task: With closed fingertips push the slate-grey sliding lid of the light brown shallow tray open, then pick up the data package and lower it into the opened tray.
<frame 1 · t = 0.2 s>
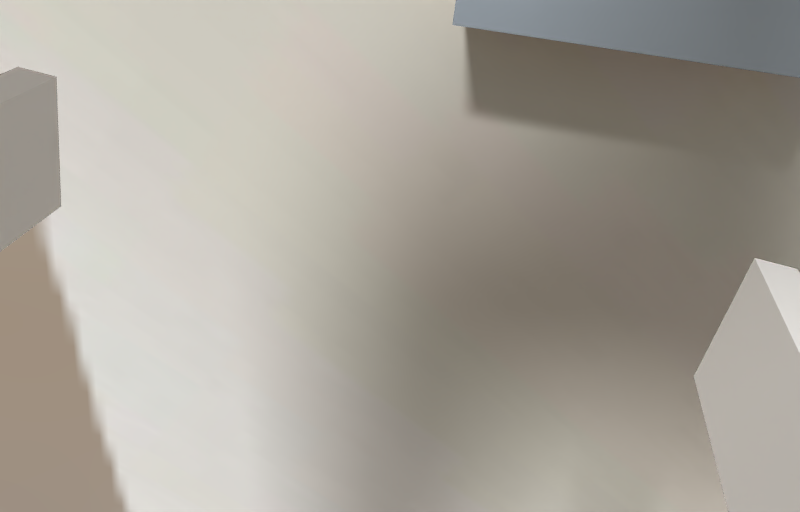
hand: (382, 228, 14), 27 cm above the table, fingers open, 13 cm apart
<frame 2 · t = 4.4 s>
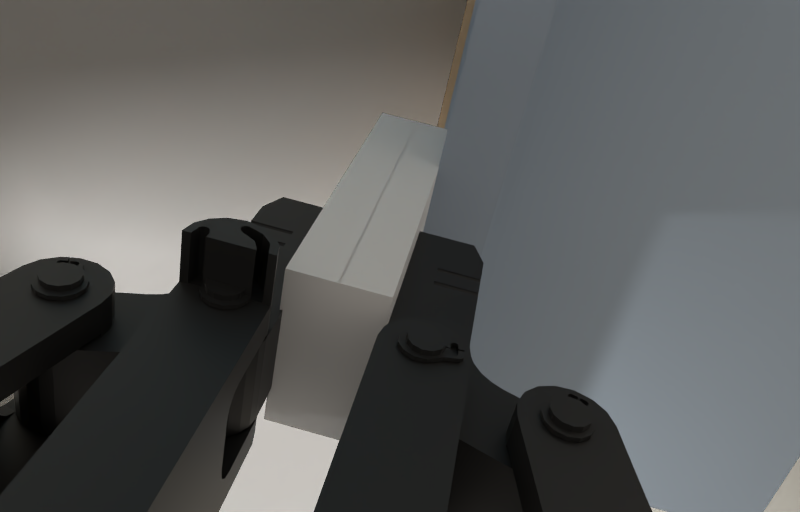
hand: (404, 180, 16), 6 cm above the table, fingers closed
lid: (679, 253, 16), point 6 cm above the table, slide at 0.2 cm, touching gripper
light brown shallow tray: (639, 144, 21), on the table
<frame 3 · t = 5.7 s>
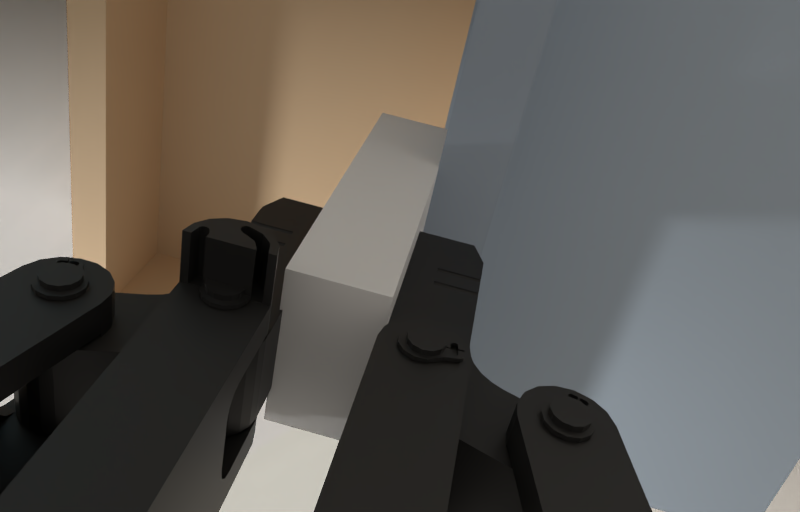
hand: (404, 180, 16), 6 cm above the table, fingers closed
lid: (679, 253, 16), point 6 cm above the table, slide at 9.6 cm, touching gripper
light brown shallow tray: (322, 64, 22), on the table
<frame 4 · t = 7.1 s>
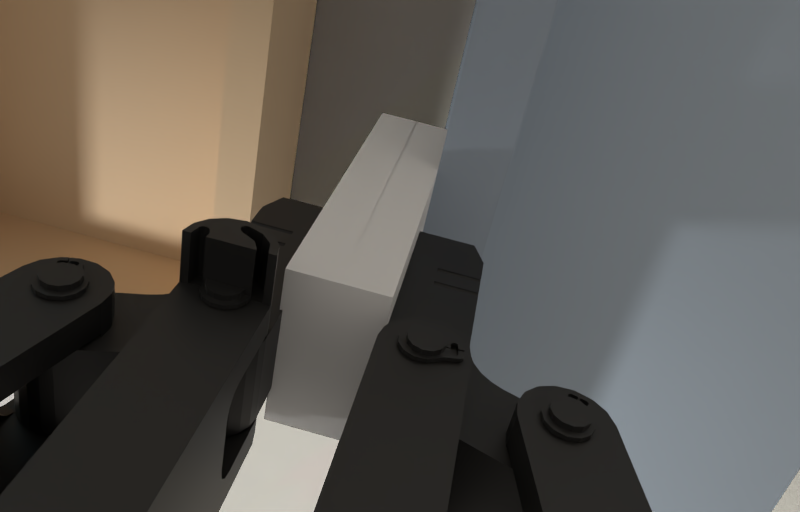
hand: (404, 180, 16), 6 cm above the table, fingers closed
lid: (682, 256, 16), point 6 cm above the table, slide at 15.5 cm, touching gripper
light brown shallow tray: (128, 15, 22), on the table
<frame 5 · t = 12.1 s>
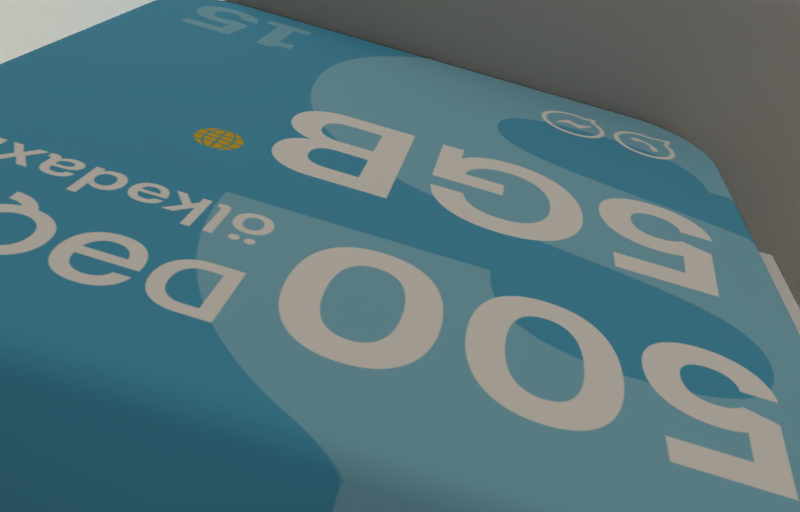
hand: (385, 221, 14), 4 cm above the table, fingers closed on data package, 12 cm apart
data package: (417, 149, 18), on the table, touching gripper
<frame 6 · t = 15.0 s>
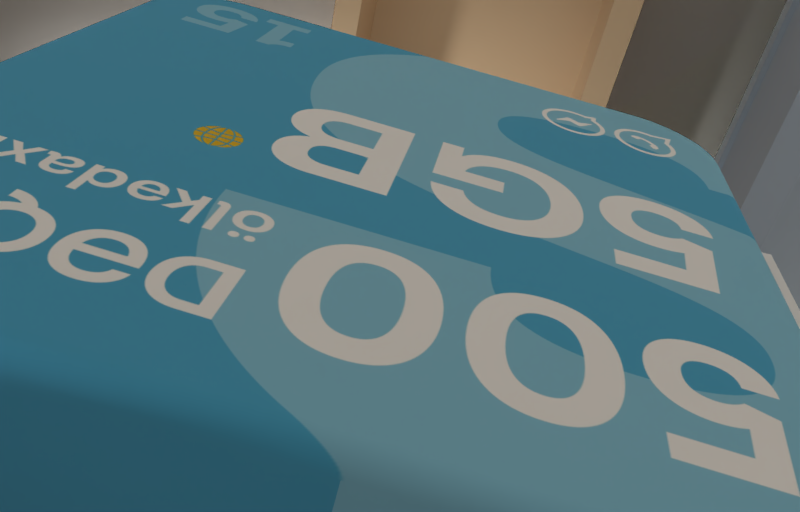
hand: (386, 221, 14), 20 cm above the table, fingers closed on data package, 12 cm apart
light brown shallow tray: (482, 19, 32), on the table
data package: (418, 147, 18), point 16 cm above the table, touching gripper
when the fingers open (7 cm above the table, at t = 18.2 s): data package stays where it is, resting on light brown shallow tray.
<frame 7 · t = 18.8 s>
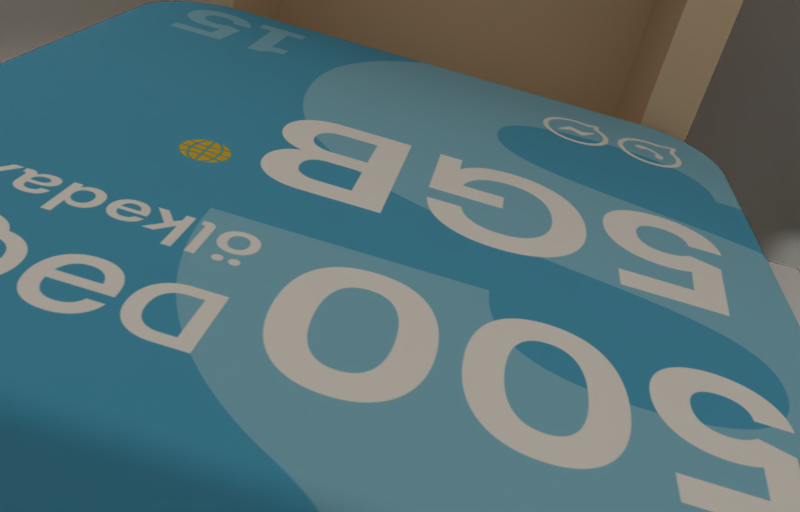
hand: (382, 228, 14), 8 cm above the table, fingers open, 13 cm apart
light brown shallow tray: (436, 105, 21), on the table
data package: (415, 155, 17), point 4 cm above the table, touching light brown shallow tray
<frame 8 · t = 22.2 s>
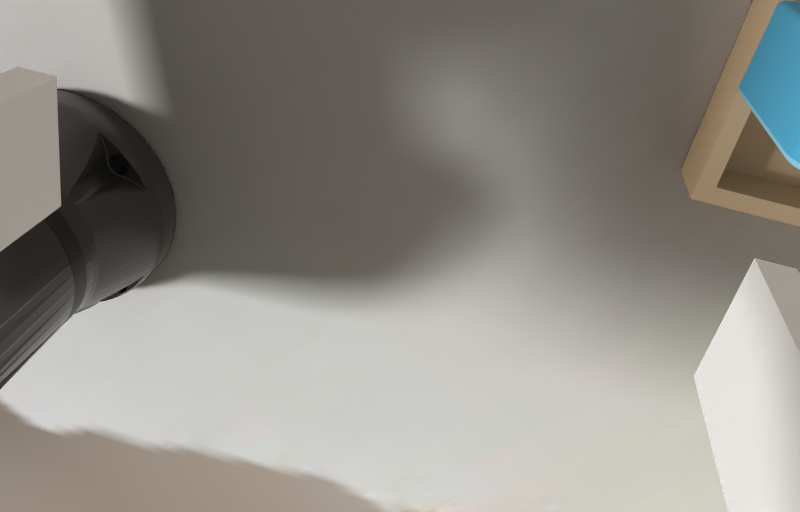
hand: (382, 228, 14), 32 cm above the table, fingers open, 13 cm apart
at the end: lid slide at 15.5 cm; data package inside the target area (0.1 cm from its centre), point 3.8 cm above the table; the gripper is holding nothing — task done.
